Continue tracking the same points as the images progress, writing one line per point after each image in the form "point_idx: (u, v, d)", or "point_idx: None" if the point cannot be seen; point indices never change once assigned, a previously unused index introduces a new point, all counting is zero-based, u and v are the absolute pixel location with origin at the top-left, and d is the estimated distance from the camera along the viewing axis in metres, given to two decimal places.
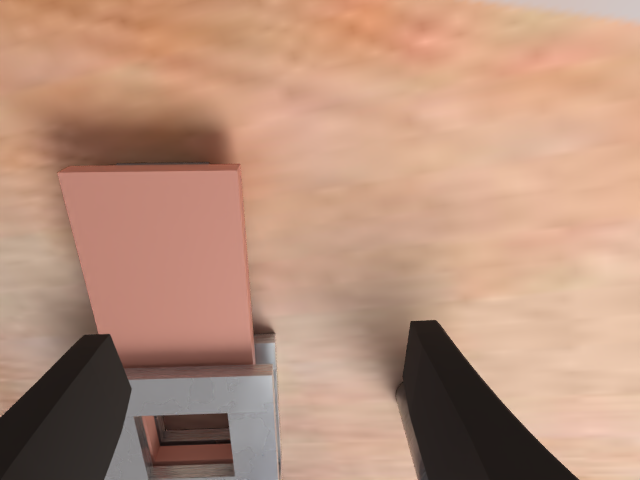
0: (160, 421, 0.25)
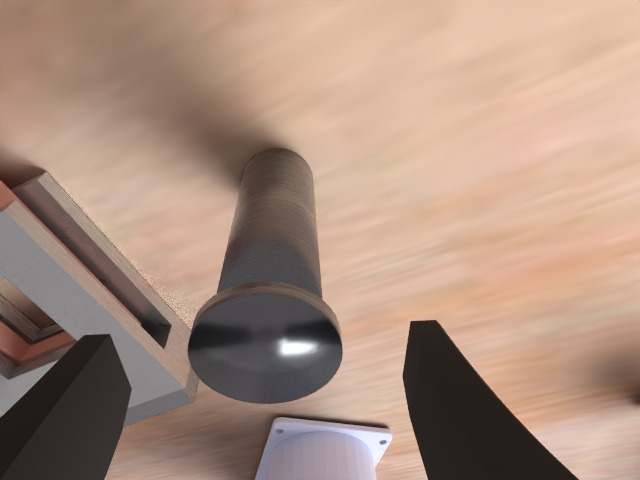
0: (20, 320, 0.22)
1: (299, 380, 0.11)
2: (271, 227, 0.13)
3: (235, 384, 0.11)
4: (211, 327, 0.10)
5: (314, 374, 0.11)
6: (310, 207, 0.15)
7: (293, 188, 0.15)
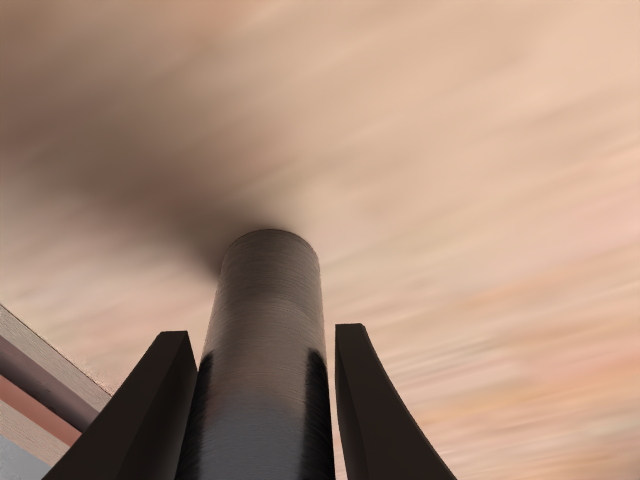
0: None
1: None
2: (256, 411, 0.08)
3: None
4: None
5: None
6: (317, 338, 0.10)
7: (292, 309, 0.10)
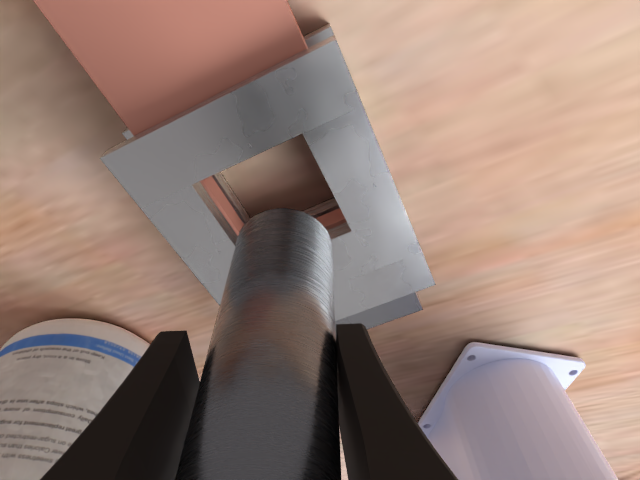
0: (245, 215, 0.20)
1: None
2: (269, 380, 0.08)
3: None
4: None
5: None
6: (329, 317, 0.11)
7: (306, 287, 0.10)
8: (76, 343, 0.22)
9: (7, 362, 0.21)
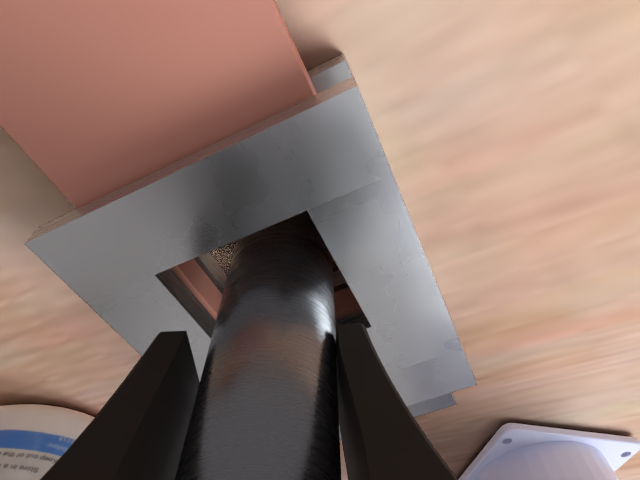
0: None
1: None
2: (269, 380, 0.08)
3: None
4: None
5: None
6: (329, 317, 0.11)
7: (306, 286, 0.10)
8: (22, 443, 0.17)
9: None
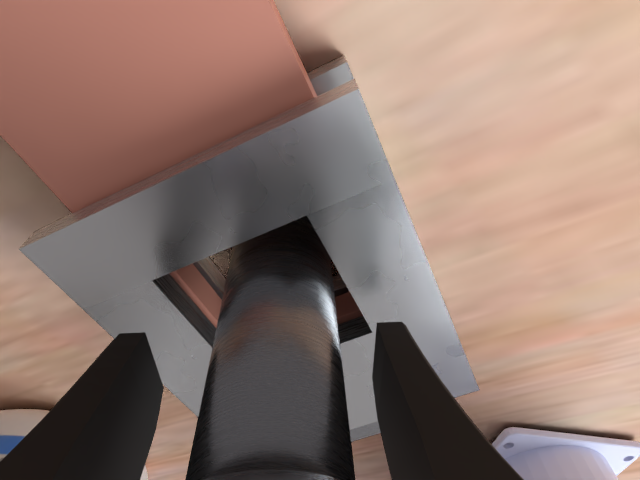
0: None
1: None
2: (280, 332, 0.09)
3: None
4: None
5: None
6: (329, 285, 0.11)
7: (307, 257, 0.11)
8: None
9: None
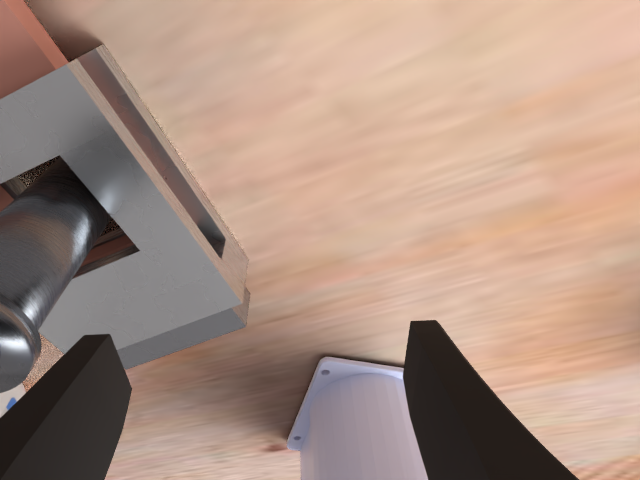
0: None
1: None
2: (9, 224, 0.13)
3: None
4: None
5: (8, 369, 0.12)
6: (86, 208, 0.16)
7: (71, 188, 0.16)
8: None
9: None
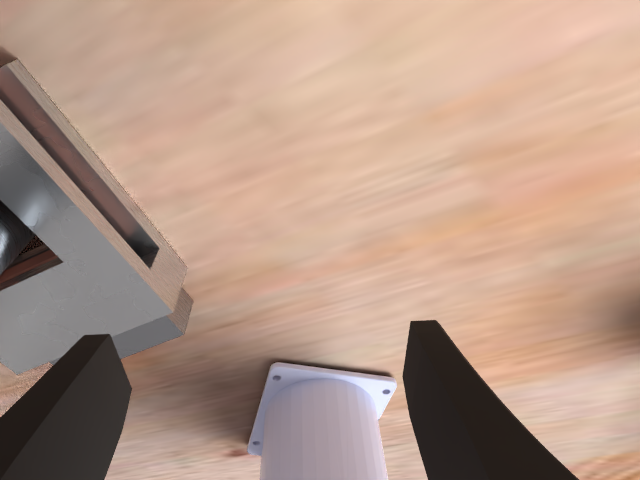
0: None
1: None
2: None
3: None
4: None
5: None
6: (2, 221, 0.16)
7: None
8: None
9: None
